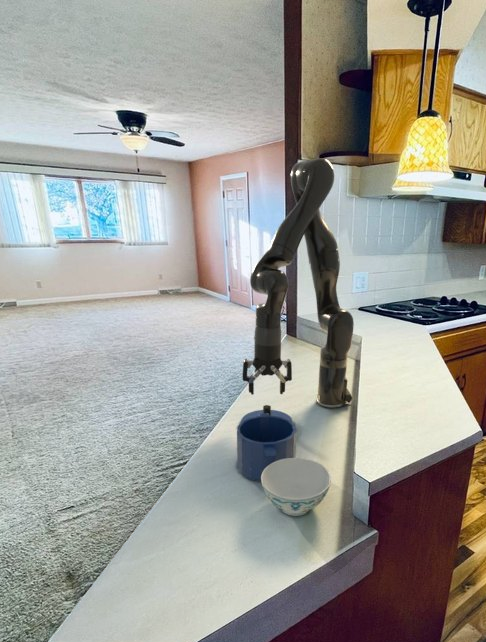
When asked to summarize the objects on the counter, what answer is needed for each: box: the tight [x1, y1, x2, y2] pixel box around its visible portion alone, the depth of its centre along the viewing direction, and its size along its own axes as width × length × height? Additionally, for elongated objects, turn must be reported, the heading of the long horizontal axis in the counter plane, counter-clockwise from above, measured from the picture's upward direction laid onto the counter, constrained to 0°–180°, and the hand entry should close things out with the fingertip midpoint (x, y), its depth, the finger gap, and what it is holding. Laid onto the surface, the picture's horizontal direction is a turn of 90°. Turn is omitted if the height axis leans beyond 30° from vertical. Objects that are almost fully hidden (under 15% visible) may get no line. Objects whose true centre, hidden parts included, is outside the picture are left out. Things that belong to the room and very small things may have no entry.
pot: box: [236, 413, 298, 482], centre depth 103 cm, size 15×20×10 cm
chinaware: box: [260, 457, 332, 517], centre depth 90 cm, size 15×15×8 cm
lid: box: [240, 404, 294, 423], centre depth 125 cm, size 16×16×6 cm
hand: (266, 393), depth 122 cm, fingers open, 8 cm apart
